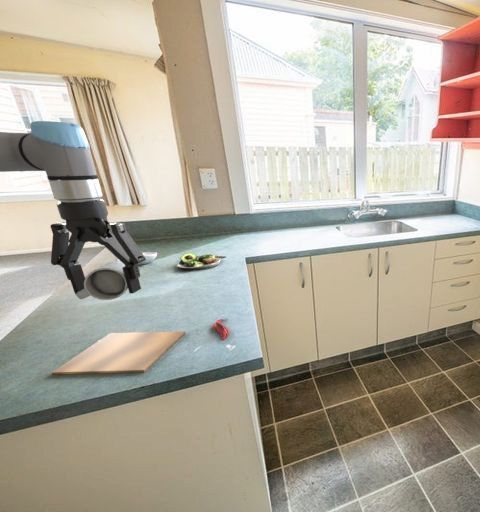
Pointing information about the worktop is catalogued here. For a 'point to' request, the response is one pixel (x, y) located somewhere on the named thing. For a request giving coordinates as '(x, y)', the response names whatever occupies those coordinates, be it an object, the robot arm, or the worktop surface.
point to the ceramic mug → (105, 282)
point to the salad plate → (198, 261)
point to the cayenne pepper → (221, 329)
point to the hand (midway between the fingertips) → (109, 291)
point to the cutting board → (121, 353)
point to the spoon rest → (147, 255)
